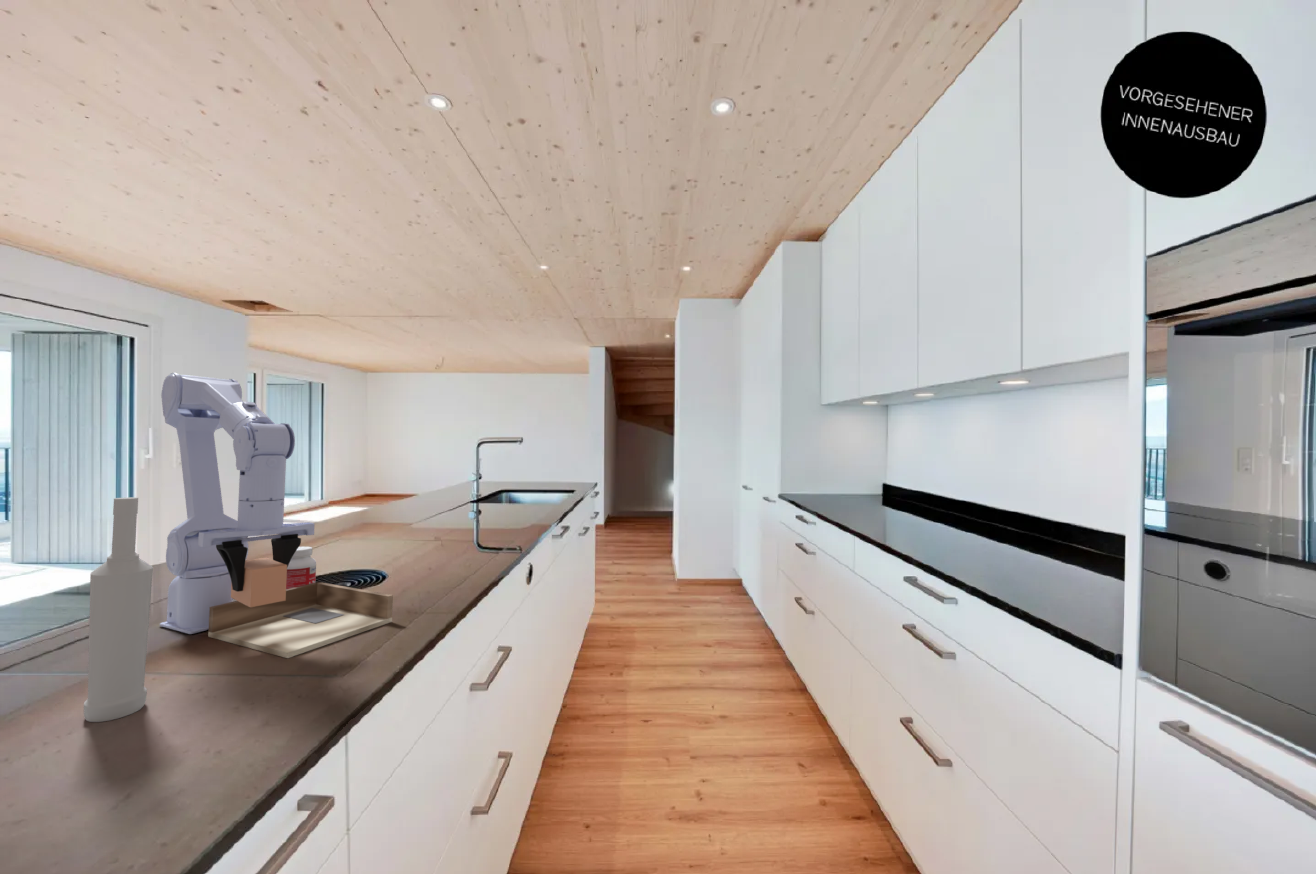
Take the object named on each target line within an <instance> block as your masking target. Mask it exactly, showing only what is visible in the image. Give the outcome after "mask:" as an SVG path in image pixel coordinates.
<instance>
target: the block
mask: <svg viewBox="0 0 1316 874" xmlns="http://www.w3.org/2000/svg"><path fill="white" fill-rule="evenodd" d="M286 579H287V565H286V564H283V563H280V562H278V561H275V560H273V558H268V557H259V558H254V559H246V560H245V566H244V586H243V591H239V592H237V591H235V590H233V588H232V582H231V598H233V600H234V601H239V602H241V603H243V604H245V605H246V606H248V607H255V606H260V605H265V604H270V603H275V602H280V601H286Z"/></svg>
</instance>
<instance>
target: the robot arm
mask: <svg viewBox="0 0 1316 874" xmlns="http://www.w3.org/2000/svg"><path fill="white" fill-rule="evenodd" d="M160 396H161V405H162V416H163V417H164V422H165V424H167V425H169V426H171V427H172V428H174V429H176V434H177V437H178V438H177V439H178V444H179V452H180V461H181V469H182V471H181V472H182V479H183V480H182V481H183V489H184V499H185V508H186V517H187V519H185V520H184V521H182V522H181V523H179V524H178V525H177V526H175V527H174V528H172V529H171V530H170V532H169V533H168V535H167V536H166V537H167V539H166V540H167V541H166V542H167V543H166V549H165V550H166V551H165V563H166V567H167V569H168V571H169V572H170V573H171V574H172V575H173V576H175V577H174V579H172V581H171V582H170V584H169V585H168V590H167V608H166V609H167V610H166V621H162V622H159V627H163V628H166V629H170V630H173V631H177V632H181V633H184V634H188V635H192V634H197V633H201V632H204V631H207V630H208V631H209V610H210V607H212V606H216V605H221V604H225V603H229V602H234V599H233V598H231V582H232V588H233V590H235V591H237V592H239V591H243V586H244V566H245V560H247V558H248V555H249V542H257V541H263V540H270V542H271V549H272V560H275V561H278V562H280V563H283V564H286V565H287V567H288V565H289V563H290V561H291V559H292V557H293V555H294V553H295V552H296V550H297V549H298V547H301V543H302V538H300V537H299V536H314V535H315V525H316V524H315V522H310V521H309V522H296V523H295V522H294V523H293V522H291V523H284V514H285V513H284V512H285V493H286V492H285V491H286V473H287V472H286V469H287V468H286V467H287V459H290V457H291V456H292V455H293V452H294V450H295V446H296V436H295V433H294V430H293V428H292V427H291V426H290V424H289V423H286V422H285V423H284V422H283V423H275V422H274V421H273V420H271V418H270V417H268V416H267V414H265V413H264V411H262V410H261V409H260V408H259V407H258V405H257V404H256V403H255V402H254V401H244V400H243V399H242V397H243V391H242V387H241V384H240V383H239V382H238V380H236V379H234V378H229V379H227V378H217V377H208V376H200V375H192V374H191V375H189V374H181V373H180V374H179V373H178V372H172V373H169V374H168V375H167V376H166V377H165V379H164V380H163V384H162V389H161V394H160ZM219 429H220V430H221V429H224V431H225V432H226V433H227V434H228V435H229V437H231V439H232V440H233V441H232V447H233V452H234V455H235V467H236V470H237V471H239V480H238V481H239V482H238V486H239V487H238V505H237V506H238V507H237V519H235V518H233V517H231V516H228V515H227V514H226V513H224V505H223V498H222V497H223V496H222V488H221V482H220V473H219V472H220V471H219V466H218V464H219V463H218V457H217V449H216V448H217V447H216V441H215V432H216V431H218V430H219Z"/></svg>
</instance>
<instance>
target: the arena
mask: <svg viewBox="0 0 1316 874" xmlns="http://www.w3.org/2000/svg"><path fill="white" fill-rule="evenodd" d="M393 601H394V595H393V594H390V593H384V592H379V591H374V590H373V591H371V590H367V589H361V588H355V587H349V586H345V585H339V584H338V585H337V584H333V583H328V582H327V583H326V582H322V581H315V583H312V584H307V585H303V586H299V587H294V588H290V589H286V601H280V602H275V603H270V604H265V605H260V606H255V607H248V606H246V605H245V604H243V603H241V602H239V601H237V600H233V602H229V603H225V604H221V605H216V606H212V607H210V610H209V630H208V632H207V633H208V634H207V635H208V638H212V639H215V640H219V641H223V642H226V643H231V644H234V645H238V646H241V647H244V648H249V649H252V650H255V651H256V650H257V651H259V652H263V653H267V654H271V655H275V656H278V657H282V658H286V659H289V658H293V657H295V656H298V655H301V654H304V653H307V652H310V651H312V650H315V649H318V648H321V647H324V646H326V645H329V644H332V643H336V642H338V641H341V640H344V639H346V638H347V639H348V638H349V637H352V636H356V635H359V634H361V633H364V632H367V631H369V630H372V629H375V628H379V627H382V626H384V625H387V624H389V623H392V622H393V607H394V606H393V604H394V602H393Z"/></svg>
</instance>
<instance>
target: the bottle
mask: <svg viewBox="0 0 1316 874" xmlns="http://www.w3.org/2000/svg"><path fill="white" fill-rule="evenodd" d="M112 508H113V511H112V515H113V523H112V537H111V539H112V541H111V554H110V555H109V556H107V557H106V561H104V563H102V564H100V566H98V567H97V568H96V569H94V570H92V571H91V572H90V580H89V581H90V582H89V583H90V584H89V619H88V620H89V623H88V628H89V629H88V630H89V631H88V662H87V663H88V664H87V665H88V668H87V669H88V670H87V671H88V673H87V674H88V675H87V699H86V700H85V701H84V702H83V716H84V719H85V721H87V722H89V723H102V722H106V721H107V722H108V721H112V720H117V719H120V718H124V717H127V716H129V715H132V714H134V713H136V712H138V711H140V710H141V709H142V708H143V707H144V706H145V703H146V701H147V695H148V691H147V690H148V689H147V687H146V686H145V677H146V664H147V651H148V637H149V628H150V627H149V624H150V613H151V612H150V610H151V598H152V586H153V585H152V583H153V574H154V573H153V571H154V567H153V566H152V565H151V564H149V563H148V562H146V561H144V560H143V559H142V558H140V554H138V553H137V552H136V545H137V544H136V540H137V518H138V517H137V516H138V512H139V511H138V509H139V497H137V496H136V497H134V496H133V497H131V496H129V497H115V498H113V507H112Z"/></svg>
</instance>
